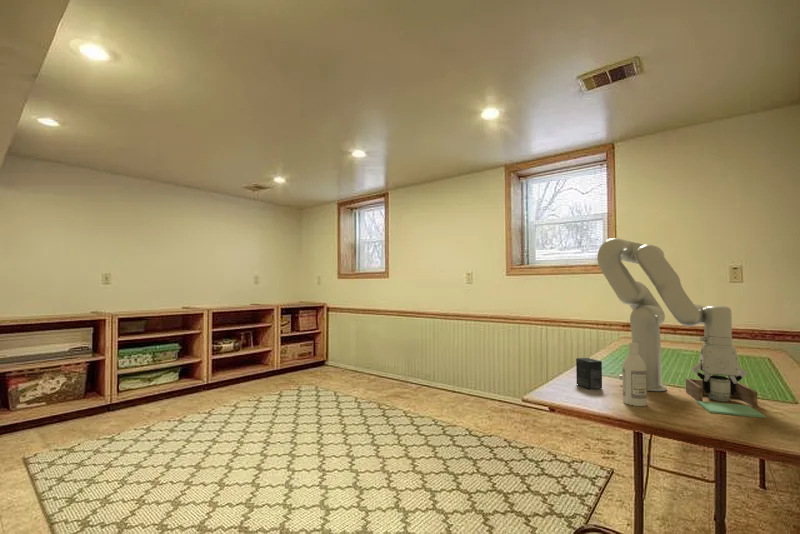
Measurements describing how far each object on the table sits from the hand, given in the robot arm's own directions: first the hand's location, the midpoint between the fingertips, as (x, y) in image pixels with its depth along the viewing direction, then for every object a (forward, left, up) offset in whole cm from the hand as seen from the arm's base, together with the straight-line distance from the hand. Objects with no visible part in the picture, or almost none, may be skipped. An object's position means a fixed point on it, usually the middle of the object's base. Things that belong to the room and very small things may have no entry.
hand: (719, 392), depth 139 cm
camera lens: (0, 0, -2) cm, 2 cm away
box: (-41, +2, -2) cm, 41 cm away
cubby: (0, 0, -2) cm, 2 cm away
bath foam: (-29, -16, -2) cm, 33 cm away
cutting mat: (-2, -13, -2) cm, 13 cm away
